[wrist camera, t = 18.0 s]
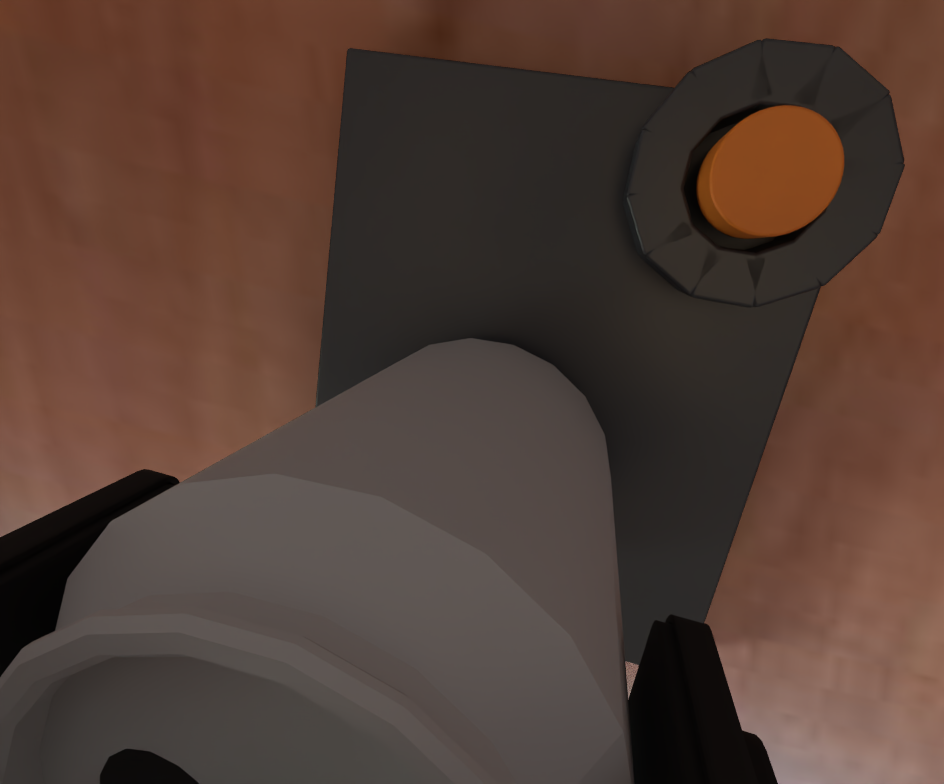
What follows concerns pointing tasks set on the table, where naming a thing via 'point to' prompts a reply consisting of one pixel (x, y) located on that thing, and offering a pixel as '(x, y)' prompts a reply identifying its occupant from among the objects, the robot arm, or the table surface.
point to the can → (352, 602)
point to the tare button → (771, 173)
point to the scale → (601, 266)
